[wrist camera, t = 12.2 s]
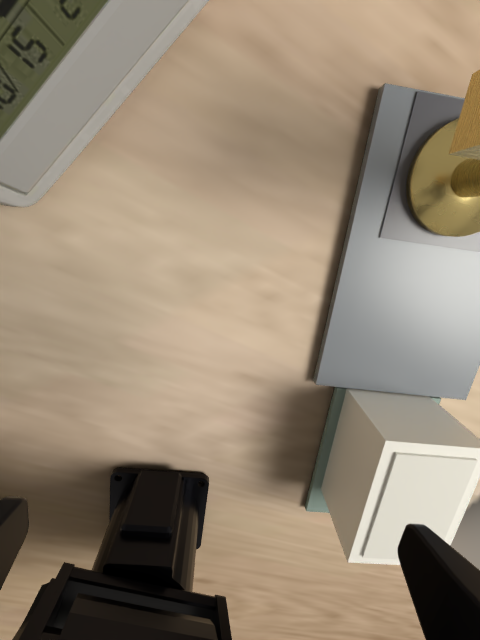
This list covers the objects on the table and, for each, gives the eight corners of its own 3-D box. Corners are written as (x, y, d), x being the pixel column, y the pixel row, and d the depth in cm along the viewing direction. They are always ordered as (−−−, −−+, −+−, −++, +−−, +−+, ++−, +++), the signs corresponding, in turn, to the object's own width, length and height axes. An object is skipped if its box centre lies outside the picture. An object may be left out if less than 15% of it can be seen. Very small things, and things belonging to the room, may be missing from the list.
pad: (395, 512, 24) (398, 517, 23) (304, 506, 23) (306, 511, 23) (437, 395, 21) (441, 398, 20) (335, 385, 20) (337, 388, 20)
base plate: (459, 394, 21) (467, 400, 20) (313, 380, 20) (316, 385, 19) (562, 123, 16) (577, 118, 16) (379, 88, 15) (386, 82, 15)
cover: (394, 493, 22) (442, 569, 18) (320, 489, 22) (348, 565, 17) (428, 395, 20) (494, 451, 15) (346, 388, 20) (387, 442, 15)
